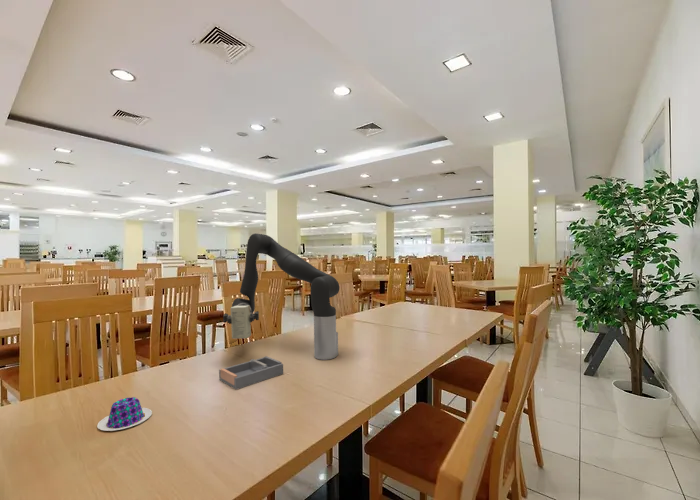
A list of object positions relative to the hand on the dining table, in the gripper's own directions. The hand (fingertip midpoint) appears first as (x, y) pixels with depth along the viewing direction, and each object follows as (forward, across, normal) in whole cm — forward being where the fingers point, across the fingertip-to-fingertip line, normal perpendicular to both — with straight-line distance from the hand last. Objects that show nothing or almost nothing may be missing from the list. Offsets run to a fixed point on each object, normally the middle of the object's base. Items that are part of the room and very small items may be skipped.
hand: (240, 320), depth 127 cm
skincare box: (-2, 0, +7) cm, 8 cm away
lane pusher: (+11, +6, +16) cm, 21 cm away
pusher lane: (+13, +4, +18) cm, 22 cm away
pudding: (+34, -28, +18) cm, 47 cm away
